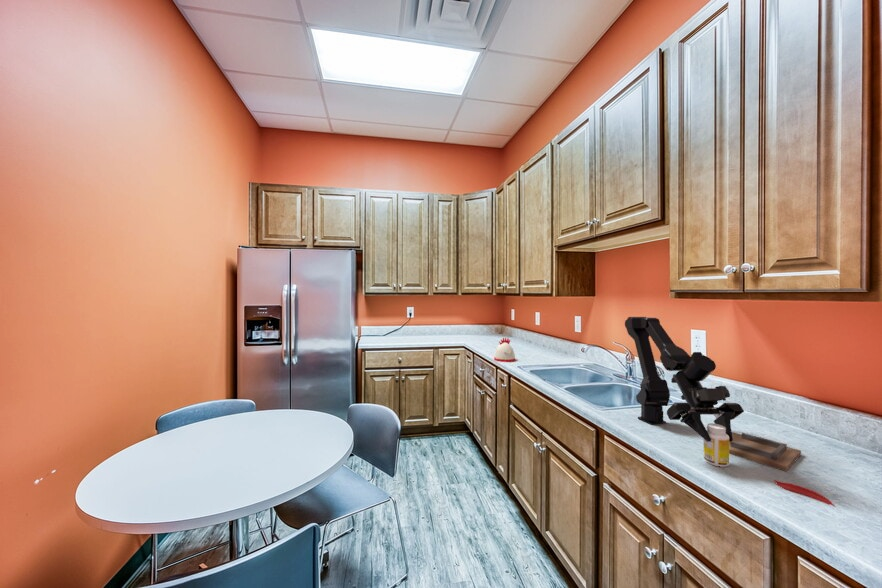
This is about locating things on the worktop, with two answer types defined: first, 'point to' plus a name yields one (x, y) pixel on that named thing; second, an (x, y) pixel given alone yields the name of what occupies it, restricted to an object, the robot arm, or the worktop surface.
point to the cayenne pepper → (803, 492)
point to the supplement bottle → (717, 446)
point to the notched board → (763, 451)
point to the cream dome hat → (504, 352)
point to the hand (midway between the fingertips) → (720, 441)
